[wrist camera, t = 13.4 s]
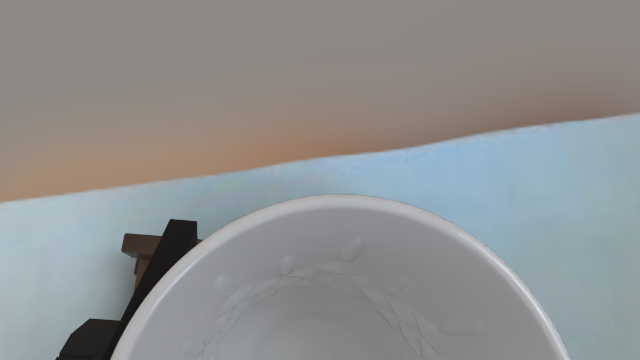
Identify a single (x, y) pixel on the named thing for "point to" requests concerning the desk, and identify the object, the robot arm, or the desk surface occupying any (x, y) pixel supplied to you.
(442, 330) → the white cup
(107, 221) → the desk surface
